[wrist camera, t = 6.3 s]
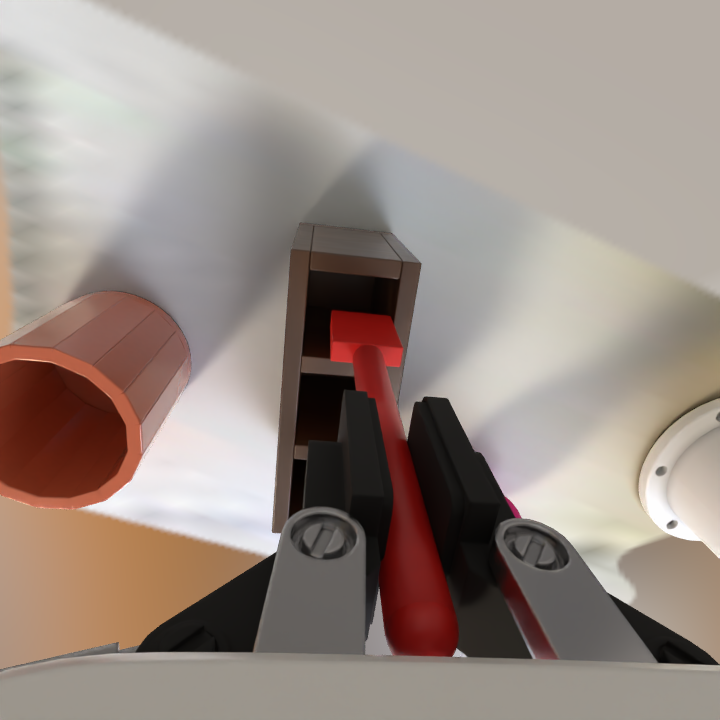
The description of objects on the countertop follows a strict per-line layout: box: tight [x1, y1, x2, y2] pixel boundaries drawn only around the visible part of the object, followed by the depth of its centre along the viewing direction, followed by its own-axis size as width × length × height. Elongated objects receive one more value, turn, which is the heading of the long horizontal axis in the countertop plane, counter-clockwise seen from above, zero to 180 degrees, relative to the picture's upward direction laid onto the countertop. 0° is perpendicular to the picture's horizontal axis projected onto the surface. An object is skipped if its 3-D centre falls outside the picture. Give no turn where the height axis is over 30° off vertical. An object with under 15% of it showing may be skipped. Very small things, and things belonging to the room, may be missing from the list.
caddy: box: [272, 223, 421, 533], centre depth 26 cm, size 5×15×9 cm, turn 173°
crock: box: [0, 291, 191, 509], centre depth 25 cm, size 8×8×9 cm
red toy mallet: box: [330, 310, 459, 657], centre depth 14 cm, size 3×1×16 cm, turn 83°
